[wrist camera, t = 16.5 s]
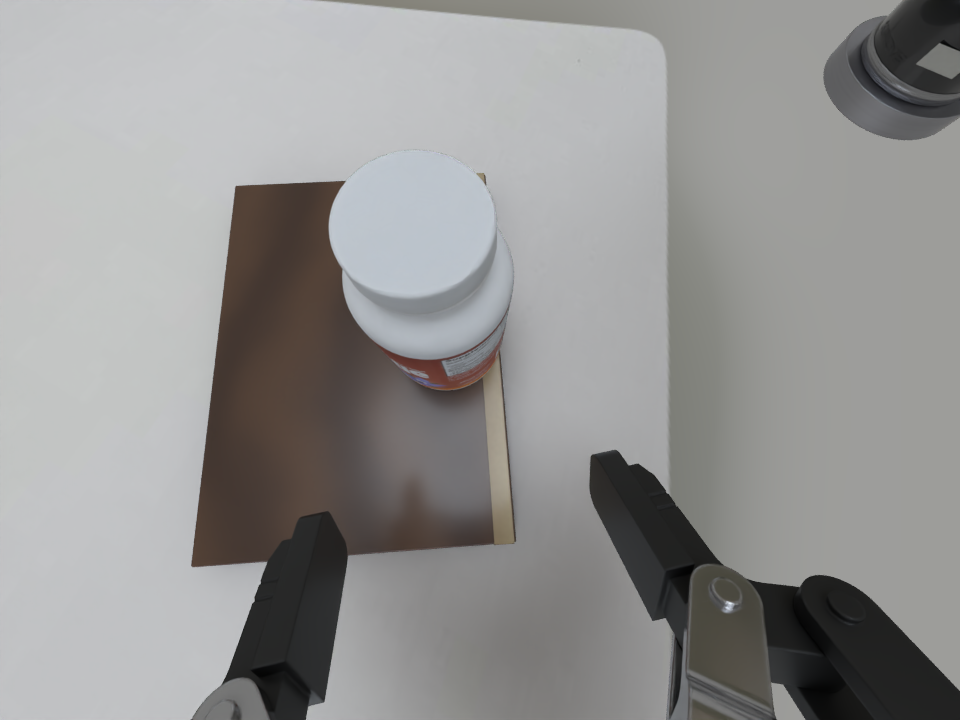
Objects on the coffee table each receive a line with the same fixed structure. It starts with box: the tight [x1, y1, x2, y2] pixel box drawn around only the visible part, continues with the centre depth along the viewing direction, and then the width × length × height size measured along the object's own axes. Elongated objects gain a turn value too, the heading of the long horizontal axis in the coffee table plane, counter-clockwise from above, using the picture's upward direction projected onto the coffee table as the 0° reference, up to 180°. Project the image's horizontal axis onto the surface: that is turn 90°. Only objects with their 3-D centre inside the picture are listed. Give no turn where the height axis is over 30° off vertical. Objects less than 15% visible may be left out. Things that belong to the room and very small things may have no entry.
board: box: [191, 173, 516, 567], centre depth 21 cm, size 16×22×2 cm
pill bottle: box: [329, 150, 514, 390], centre depth 15 cm, size 6×6×11 cm
